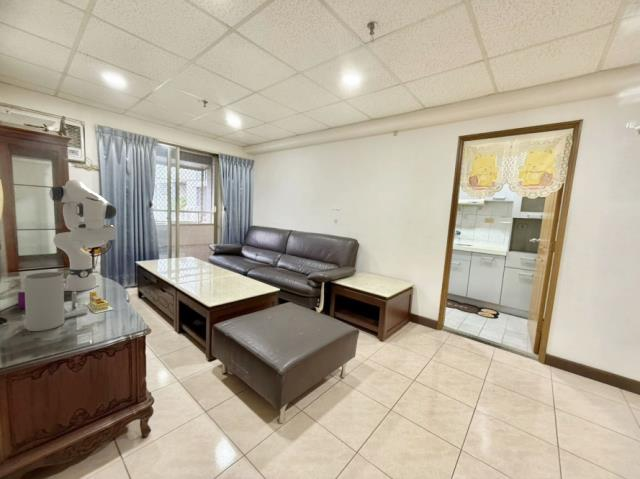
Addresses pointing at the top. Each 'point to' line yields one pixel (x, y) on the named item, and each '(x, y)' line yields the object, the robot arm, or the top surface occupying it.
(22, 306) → the mounting bracket
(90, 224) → the robot arm
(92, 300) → the brass hook
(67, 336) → the top surface
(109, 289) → the top surface
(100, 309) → the sage mat
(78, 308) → the toggle switch block
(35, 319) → the cylinder vase
